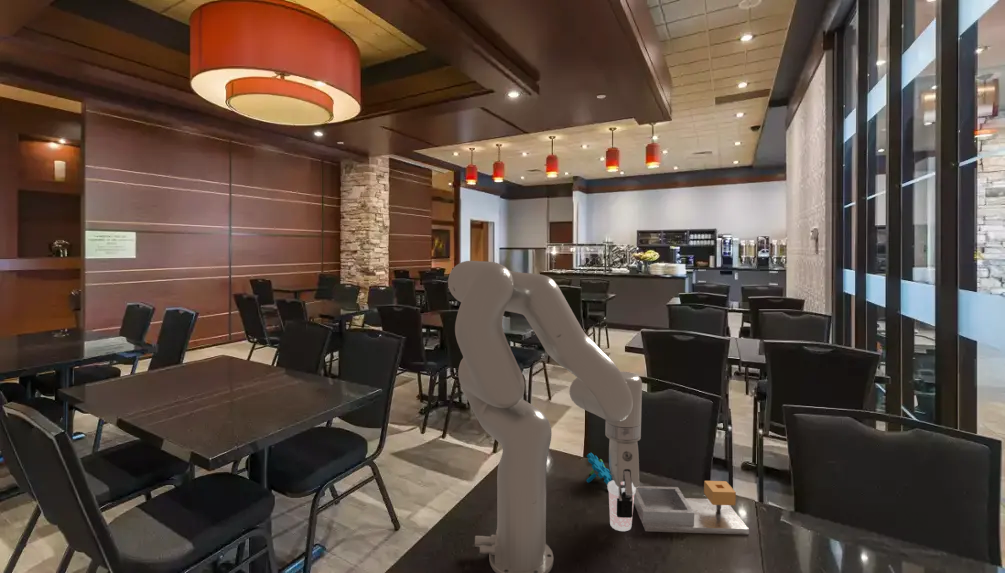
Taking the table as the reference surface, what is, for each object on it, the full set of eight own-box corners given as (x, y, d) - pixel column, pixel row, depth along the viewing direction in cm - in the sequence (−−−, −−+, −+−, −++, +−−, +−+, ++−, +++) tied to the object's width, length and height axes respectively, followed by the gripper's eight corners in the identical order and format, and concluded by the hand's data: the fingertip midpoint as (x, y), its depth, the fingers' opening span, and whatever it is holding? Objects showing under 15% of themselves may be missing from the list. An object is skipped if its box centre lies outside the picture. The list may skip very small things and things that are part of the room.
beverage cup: (602, 518, 106) (604, 458, 105) (628, 516, 107) (630, 457, 106) (612, 534, 100) (613, 471, 99) (639, 532, 101) (641, 470, 100)
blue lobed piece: (617, 489, 116) (589, 457, 118) (600, 504, 117) (572, 472, 119) (617, 474, 127) (591, 445, 129) (601, 488, 127) (576, 459, 130)
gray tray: (643, 531, 101) (643, 512, 101) (630, 501, 113) (631, 484, 113) (748, 534, 100) (749, 515, 100) (725, 504, 112) (725, 486, 112)
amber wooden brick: (712, 504, 104) (712, 491, 104) (703, 493, 109) (704, 480, 109) (735, 505, 104) (735, 492, 103) (725, 493, 109) (726, 481, 108)
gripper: (650, 446, 93) (648, 532, 95) (631, 415, 110) (629, 488, 112) (612, 445, 94) (611, 531, 95) (599, 415, 111) (598, 487, 112)
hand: (621, 507), depth 103 cm, fingers closed on beverage cup, 6 cm apart
